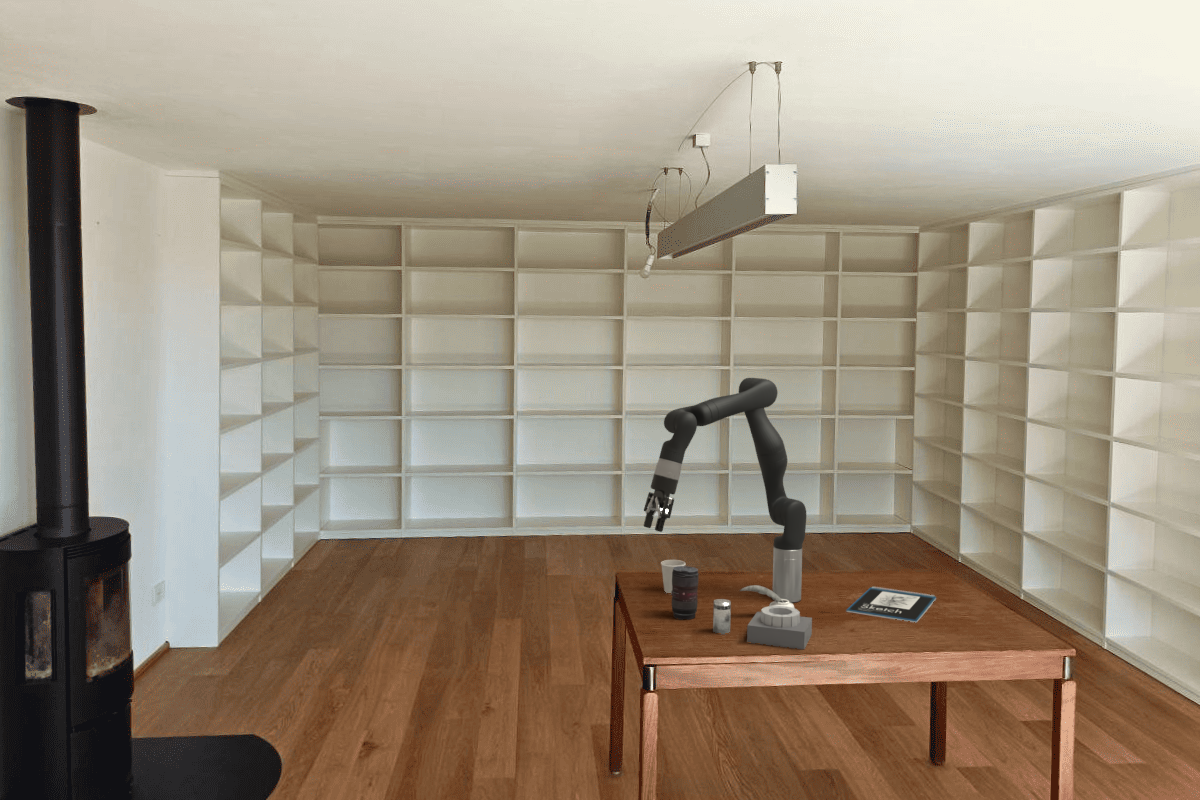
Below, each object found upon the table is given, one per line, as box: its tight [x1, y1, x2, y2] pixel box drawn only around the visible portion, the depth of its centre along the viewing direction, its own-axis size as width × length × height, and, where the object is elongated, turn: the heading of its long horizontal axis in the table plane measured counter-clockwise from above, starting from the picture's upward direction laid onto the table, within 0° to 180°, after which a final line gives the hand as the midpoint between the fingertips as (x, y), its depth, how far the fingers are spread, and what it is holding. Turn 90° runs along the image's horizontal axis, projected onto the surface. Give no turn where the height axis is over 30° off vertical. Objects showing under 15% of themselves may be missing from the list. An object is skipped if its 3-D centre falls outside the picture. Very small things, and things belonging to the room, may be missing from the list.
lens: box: [712, 598, 732, 635], centre depth 284 cm, size 5×5×9 cm
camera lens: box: [670, 565, 699, 620], centre depth 298 cm, size 8×8×15 cm
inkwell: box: [739, 584, 796, 609], centre depth 299 cm, size 9×18×10 cm, turn 97°
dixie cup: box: [660, 559, 687, 594], centre depth 326 cm, size 8×8×10 cm
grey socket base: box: [746, 606, 813, 650], centre depth 278 cm, size 14×16×8 cm
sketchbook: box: [845, 585, 937, 624], centre depth 313 cm, size 22×30×2 cm
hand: (652, 529), depth 287 cm, fingers open, 8 cm apart
